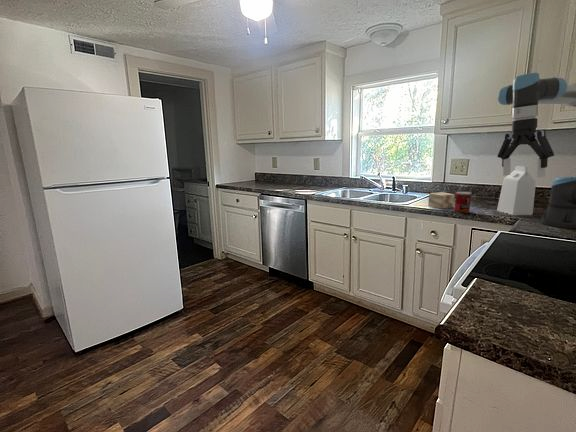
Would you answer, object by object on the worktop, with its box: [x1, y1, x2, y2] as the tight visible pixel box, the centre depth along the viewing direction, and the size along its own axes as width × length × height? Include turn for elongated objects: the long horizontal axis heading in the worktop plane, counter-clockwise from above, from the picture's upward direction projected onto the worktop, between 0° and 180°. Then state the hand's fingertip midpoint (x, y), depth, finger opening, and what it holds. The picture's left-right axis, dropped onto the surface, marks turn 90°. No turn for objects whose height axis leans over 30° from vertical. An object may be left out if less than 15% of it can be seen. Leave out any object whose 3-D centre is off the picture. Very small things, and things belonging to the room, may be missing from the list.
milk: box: [496, 165, 537, 216], centre depth 175 cm, size 12×12×26 cm
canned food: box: [453, 191, 472, 214], centre depth 181 cm, size 8×8×11 cm
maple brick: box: [427, 191, 456, 209], centre depth 196 cm, size 10×10×8 cm
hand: (522, 176), depth 121 cm, fingers open, 13 cm apart
